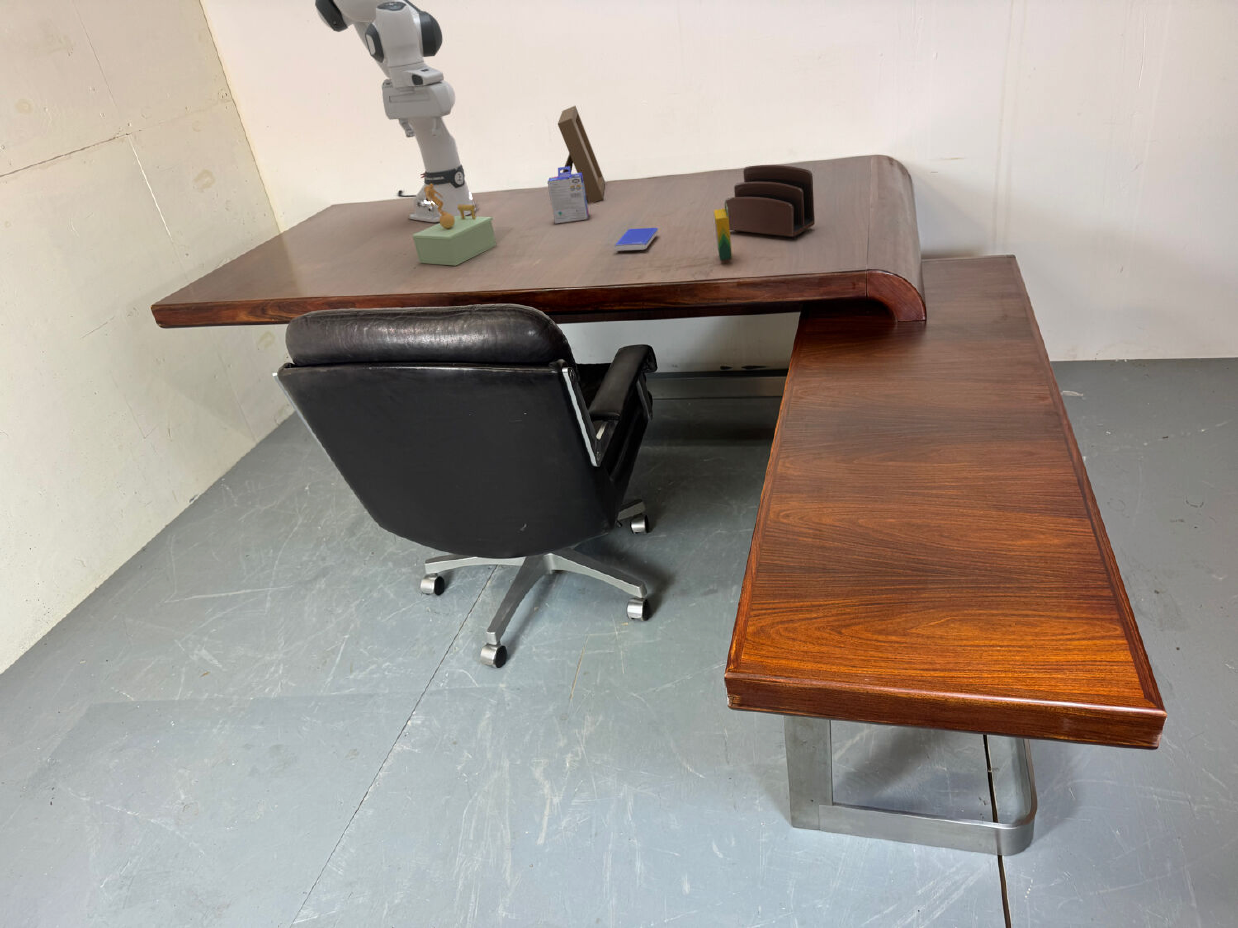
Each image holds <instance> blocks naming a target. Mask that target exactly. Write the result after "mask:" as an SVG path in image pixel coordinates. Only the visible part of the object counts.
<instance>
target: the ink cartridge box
mask: <svg viewBox="0 0 1238 928" xmlns="http://www.w3.org/2000/svg"><path fill="white" fill-rule="evenodd" d="M564 169H566V170H569V171H568V172H563V170H564ZM562 172H563V173H562ZM547 186H548V192H549V198H550V202H551V208H552V215H553V220H554V224H562V223H569V222H578V221H584V220H588V219H589V216H590V212H589V207H588V201H587V200H588V198H587V196H586V193H585V187H584V181H583V175H582V173H577V172H575V173H572V171H571V170H570V166H568V167H565V166H561V167H557V176H551V177H549V178H548V180H547Z"/></svg>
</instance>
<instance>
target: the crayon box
mask: <svg viewBox="0 0 1238 928" xmlns="http://www.w3.org/2000/svg"><path fill="white" fill-rule="evenodd" d="M725 206H726V208H725ZM713 215H714V216H713V217H714V223H715V224H714V225H715V235H716V236H715V237H716V246H717V252H718V257H719V261H727V260H732V259H733V252H732V251H733V250H732V241H731V230H730V228H729V215H728V207H727V204H726V201H725V200H724V208H719V209H714V210H713Z"/></svg>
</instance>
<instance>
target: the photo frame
mask: <svg viewBox="0 0 1238 928" xmlns="http://www.w3.org/2000/svg"><path fill="white" fill-rule="evenodd" d="M557 126H558V129H559V131H560V133H561V136H562V139H563V141H564V144H565V146H566V149H567V151H568V156H567V158H566V162H565V163H564V167H568V166H570V170H571V172H572V171H573V166H574V169H575V171H576V173H582V175H583V181H584V187H585V193H586V199H587V200H588V201H587V202H588V203H589V204H592V203H593V204H594V203H596V202H599V201H601V200H603V199H604V192H605V184H606V180H605V177H604V175H603V173H602V172H603V171H602V170H601V167H600V164H599V163H598V160H597V157H596V155H595V152H594V149H593V147H592V145H591V142H590V139H589V136H588V134H587V132H586V128H585V126H584V124H583V121H582V118H581V116H580V113H579V111H578V109H577V106H576V105H573V106H571V107H567V108H565V109H563V110H562V111H561V113H560V117H559V119H558V122H557ZM568 171H569V170H566V169H564V170H562V171H561V173H563V172H568Z"/></svg>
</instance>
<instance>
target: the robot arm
mask: <svg viewBox="0 0 1238 928" xmlns="http://www.w3.org/2000/svg"><path fill="white" fill-rule="evenodd" d="M314 6H315V9H316V12H317V15H318V17H319V18H320V20H321V22H322V23H323V24H324V25H326V27H328V28H329V29H331V30H332V31H333V32H337V33H340V32H343V31H345V30H347V29H349V27H350V26H352V25H353V27H354V29H355V31H356V33H357V35H358V37H359V39H360V40H361V42H362V44H363V45H364V47H365V48H366V50H367V52H368V53H369V56H370V57H372V58H373V60H374V61H375V63H376V64H377V66H378V67H379V68H380V70H381V71H382V72H383V75H385V76H386V79H384V80H383V82H382V84H381V91H382V94H381V95H382V96H381V97H382V103H383V109H384V112H385V116H386V117H387V119H388V120H389V121H390V120H391V121H392V120H398V124H399V125H400V127H401V128H402V130H403V131H404V133H405V137H406V138H415V140H416V142H417V145H418V148H419V152H420V155H421V160H422V162H423V167H424V170H425V171H424V173H421V174H420V176H421V177H420V179H423V185H422V187H421V188H420V189H419V191H418V192H417V193H416V194H410V195H409V194H407V195H406V194H405V195H403V194H402V193H403V190H401V189H400V190H398V193H397V195H398V197H399V198H413V205H414V210H415V211H414V212H412V213H411V214H409V219H410V220H415V221H421V222H429V223H440V221H439V219H440V216H441V214H440V213H439V212H438V209H437V208H438V207H439V206H437V205H436V204H433V205H431V203H430V202H429V200H428V199H427V197H426V193H425V191H424V188H425V187H426V186H429V185H430V184H431V183H432V184H433V186H434V187H433V189H434V190H435V191H437V192H438V193H439V194H440V195H441V196H442V197H443V198H441V196H440V195H438V194H437V193H435V196H436V197H437V198H438V199H439V200H441V201H442V202H443V206H442V208H441V209H442V210H443V211H444V212H447V213H449V214H451V215H452V216H453V217H455V216H461V213H460V211H459V210H458V205H474V206H475V210H474V212H476V211H477V207H476V203H475V202H474V201H473V196H472V193H471V192H470V189H469V187H468V184H467V183H468V182H467V181H466V179H465V177H466V175H465V169H464V167H463V165H462V164H461V159H460V156H459V150H458V146H457V143H456V138H454V136H453V135H452V134H451V133H450V131H449V129H448V128H447V126H446V123H445V121H444V117H446V116H448V115H450V114H451V112H452V109H453V107H454V105H455V103H456V92H455V90H454V88H453V86H452V85H451V84H450V83H449V82H448V81H446V80H445V77H444V72H443V71H441V70H439V69H437V68H433V67H431V66H429V65H428V64H427V63H426V61H425V59H424V58H430V57H435V56H436V55H437V54H438V52H439V51H440V49H441V47H442V44H443V39H444V38H443V33H442V32H443V31H442V29H441V26H440V24H439V22H438V20H437V19H436V18H435V17H434V16H433V15H432V14H430V12H427V11H426V10H421V9H420V8H418V7H417V6H416V5H415V4H413V3H412V2H411V1H410V0H314ZM428 197H429V196H428ZM429 199H430V200H431V202H432V199H431V198H430V197H429ZM432 203H433V202H432ZM432 206H433V207H432ZM468 215H471V211H464V216H468Z"/></svg>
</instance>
